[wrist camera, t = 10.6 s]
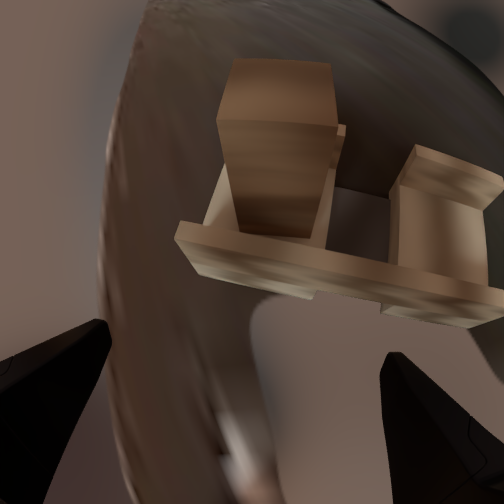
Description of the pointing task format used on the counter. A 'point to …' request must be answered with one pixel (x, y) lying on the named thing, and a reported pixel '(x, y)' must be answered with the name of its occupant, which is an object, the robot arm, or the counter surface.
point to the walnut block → (277, 142)
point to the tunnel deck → (370, 243)
